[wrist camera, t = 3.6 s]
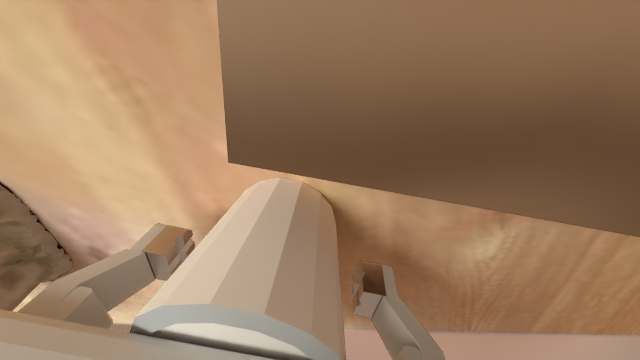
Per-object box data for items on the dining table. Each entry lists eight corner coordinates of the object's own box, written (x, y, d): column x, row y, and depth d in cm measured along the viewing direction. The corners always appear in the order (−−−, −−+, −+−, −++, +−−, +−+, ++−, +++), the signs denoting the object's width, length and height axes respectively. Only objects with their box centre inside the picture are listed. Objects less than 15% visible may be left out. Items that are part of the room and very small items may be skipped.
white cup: (372, 224, 13) (395, 388, 7) (293, 273, 16) (261, 417, 10) (276, 139, 11) (186, 270, 5) (205, 215, 14) (97, 354, 8)
